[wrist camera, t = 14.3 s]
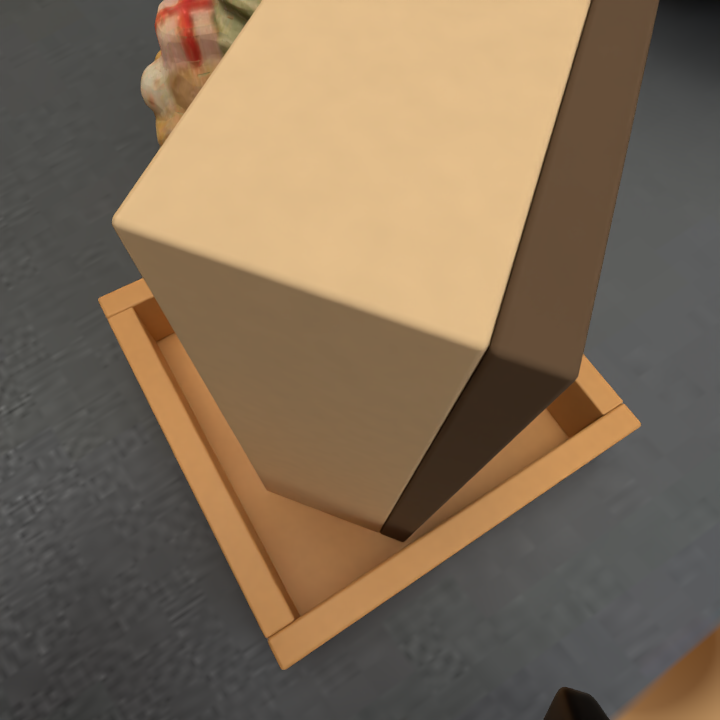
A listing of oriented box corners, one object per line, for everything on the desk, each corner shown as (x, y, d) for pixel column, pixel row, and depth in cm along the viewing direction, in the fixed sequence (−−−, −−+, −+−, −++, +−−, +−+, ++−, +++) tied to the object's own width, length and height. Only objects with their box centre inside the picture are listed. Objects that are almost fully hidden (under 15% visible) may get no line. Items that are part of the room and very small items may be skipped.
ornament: (182, 224, 22) (71, -55, 12) (158, 112, 24) (49, -192, 15) (377, 183, 23) (405, -99, 14) (335, 80, 25) (336, -219, 16)
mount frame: (596, 452, 19) (643, 424, 16) (291, 660, 16) (281, 672, 13) (404, 210, 22) (415, 152, 20) (130, 342, 19) (96, 298, 17)
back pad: (466, 345, 19) (676, -72, 7) (404, 543, 17) (580, 381, 5) (345, 304, 20) (361, -149, 8) (265, 490, 17) (104, 220, 5)
